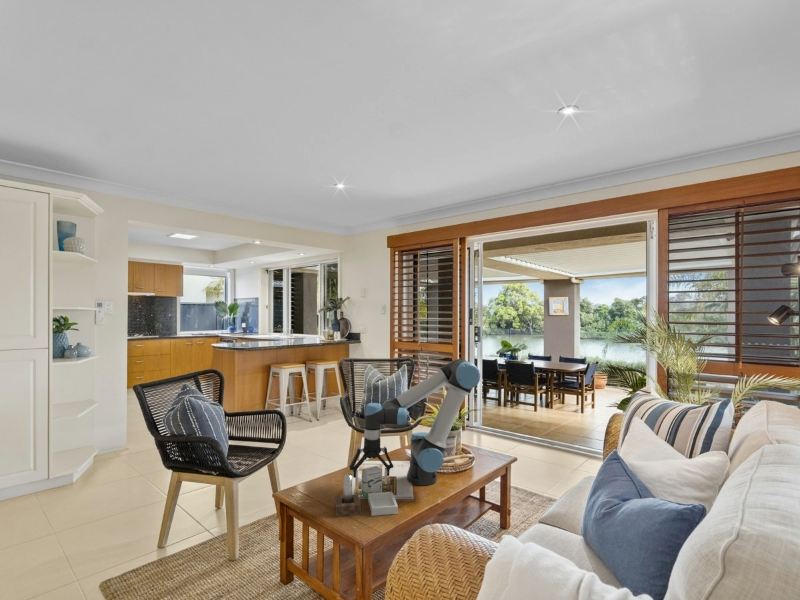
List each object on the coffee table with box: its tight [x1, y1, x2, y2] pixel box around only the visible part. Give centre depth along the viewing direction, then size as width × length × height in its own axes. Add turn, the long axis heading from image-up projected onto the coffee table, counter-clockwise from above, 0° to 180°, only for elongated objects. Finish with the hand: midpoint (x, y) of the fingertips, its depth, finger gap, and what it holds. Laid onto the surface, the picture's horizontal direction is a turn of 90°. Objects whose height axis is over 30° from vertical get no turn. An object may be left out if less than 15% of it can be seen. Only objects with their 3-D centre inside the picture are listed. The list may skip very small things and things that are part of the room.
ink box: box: [361, 465, 383, 500], centre depth 195 cm, size 9×5×12 cm, turn 123°
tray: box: [367, 491, 399, 517], centre depth 183 cm, size 11×14×3 cm
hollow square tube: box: [334, 493, 362, 517], centre depth 180 cm, size 10×10×4 cm
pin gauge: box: [343, 473, 353, 503], centre depth 180 cm, size 4×4×14 cm
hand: (371, 483), depth 195 cm, fingers open, 13 cm apart
